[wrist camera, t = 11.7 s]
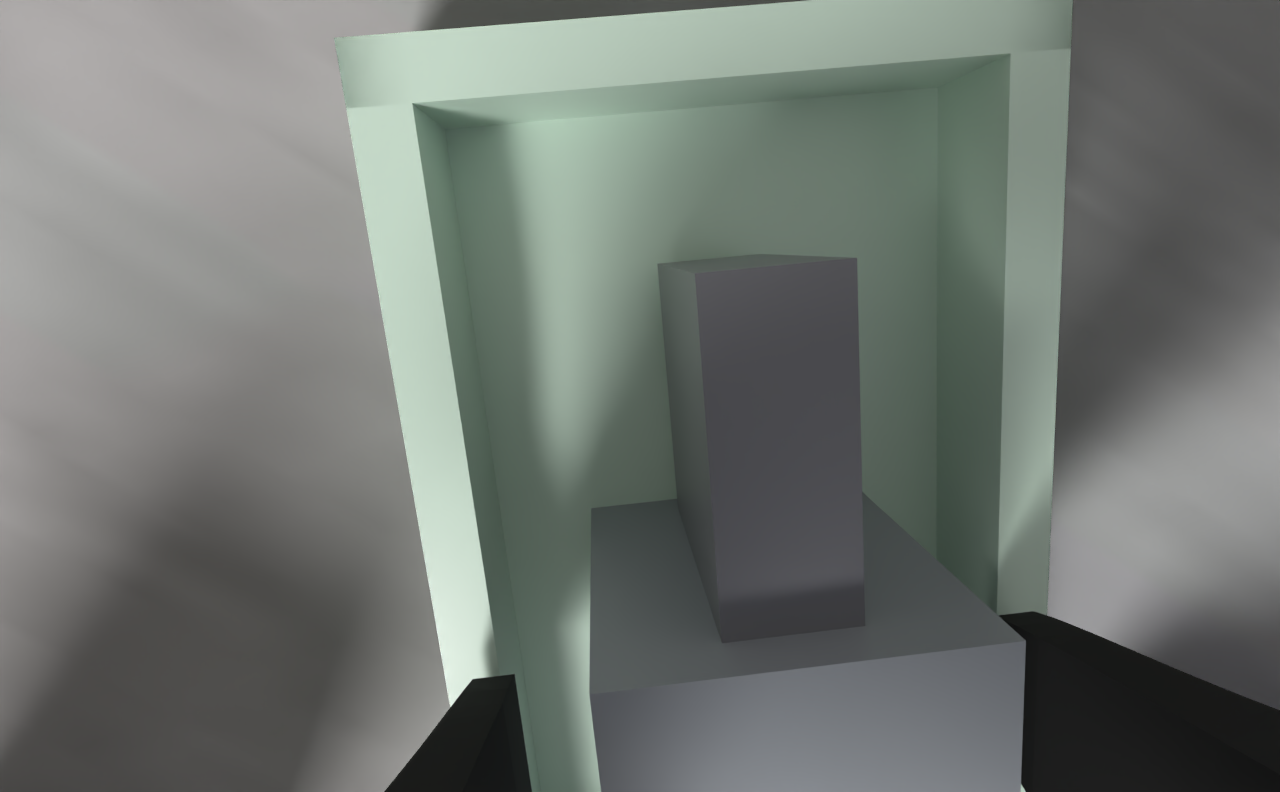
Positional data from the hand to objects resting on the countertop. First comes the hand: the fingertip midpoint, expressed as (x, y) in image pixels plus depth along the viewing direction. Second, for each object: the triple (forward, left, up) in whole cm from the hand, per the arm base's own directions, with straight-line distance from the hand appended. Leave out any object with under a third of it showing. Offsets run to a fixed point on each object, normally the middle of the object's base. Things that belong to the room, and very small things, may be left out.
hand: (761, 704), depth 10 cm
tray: (0, -2, -3) cm, 4 cm away
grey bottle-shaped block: (0, -1, -2) cm, 2 cm away
